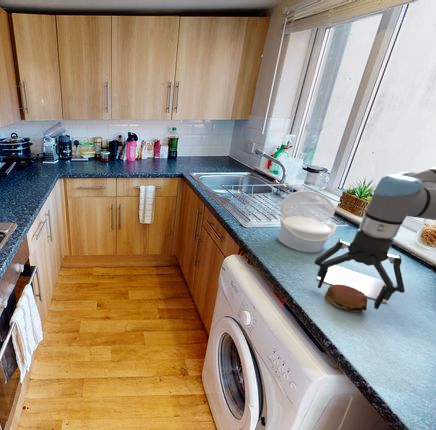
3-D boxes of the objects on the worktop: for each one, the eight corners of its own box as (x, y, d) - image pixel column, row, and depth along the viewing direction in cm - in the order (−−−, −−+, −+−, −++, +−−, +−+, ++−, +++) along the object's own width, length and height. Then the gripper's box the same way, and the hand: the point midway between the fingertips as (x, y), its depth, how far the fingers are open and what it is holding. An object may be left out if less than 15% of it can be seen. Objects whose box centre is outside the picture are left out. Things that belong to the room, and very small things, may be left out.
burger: (318, 292, 90) (322, 280, 88) (347, 292, 90) (352, 280, 88) (340, 315, 81) (346, 302, 80) (372, 316, 82) (379, 303, 80)
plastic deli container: (277, 249, 114) (291, 202, 106) (269, 227, 131) (281, 186, 123) (335, 258, 108) (354, 210, 100) (319, 235, 126) (334, 192, 117)
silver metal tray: (384, 281, 96) (385, 280, 96) (386, 304, 86) (387, 303, 86) (321, 262, 106) (321, 261, 106) (316, 279, 96) (316, 278, 96)
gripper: (319, 223, 80) (296, 283, 89) (445, 256, 66) (403, 324, 75) (322, 215, 86) (300, 273, 95) (439, 243, 72) (401, 308, 81)
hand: (346, 295), depth 85 cm, fingers open, 13 cm apart
